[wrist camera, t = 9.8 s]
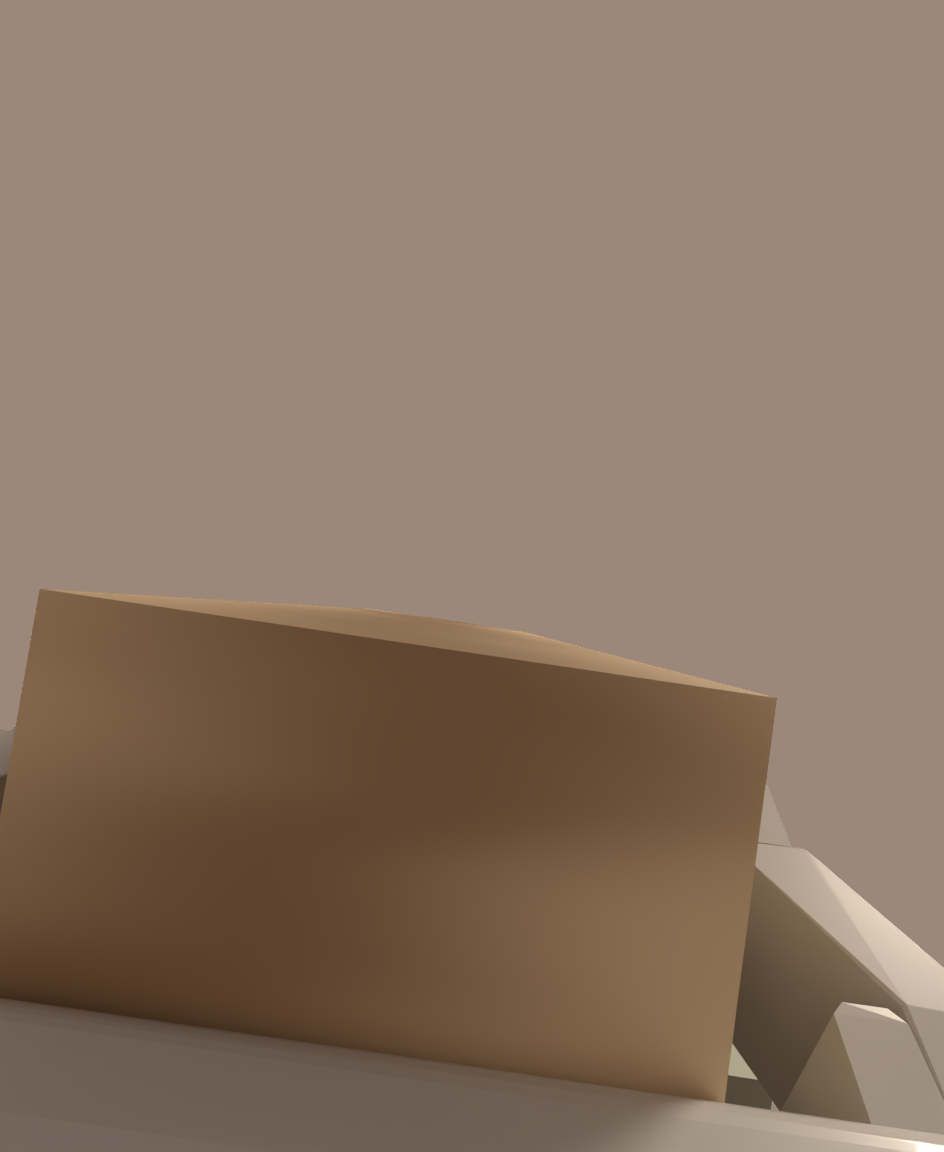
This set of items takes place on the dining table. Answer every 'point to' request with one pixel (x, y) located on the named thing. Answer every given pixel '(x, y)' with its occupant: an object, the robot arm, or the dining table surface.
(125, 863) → the block
